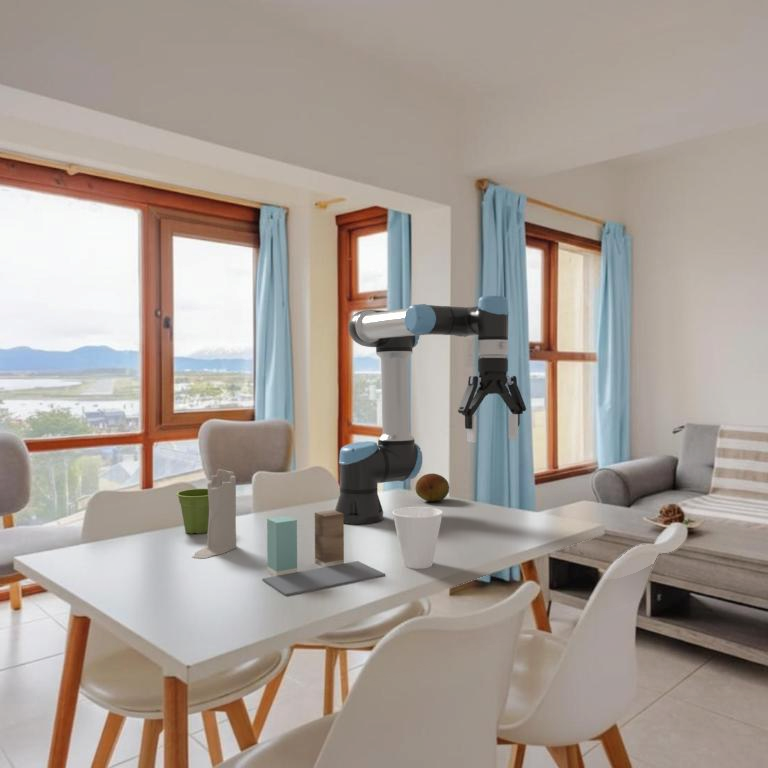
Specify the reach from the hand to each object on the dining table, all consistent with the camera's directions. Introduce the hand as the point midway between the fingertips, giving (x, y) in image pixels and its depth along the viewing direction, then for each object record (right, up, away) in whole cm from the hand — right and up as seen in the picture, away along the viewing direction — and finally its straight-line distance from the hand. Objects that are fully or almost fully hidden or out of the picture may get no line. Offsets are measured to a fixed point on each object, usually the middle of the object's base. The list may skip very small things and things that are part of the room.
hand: (492, 440), depth 167 cm
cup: (-20, -28, -14) cm, 37 cm away
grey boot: (-71, -28, -1) cm, 76 cm away
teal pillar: (-51, -28, -19) cm, 61 cm away
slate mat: (-41, -28, -24) cm, 55 cm away
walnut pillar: (-41, -28, -13) cm, 51 cm away
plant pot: (-81, -28, +20) cm, 88 cm away
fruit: (-11, -27, +63) cm, 69 cm away
